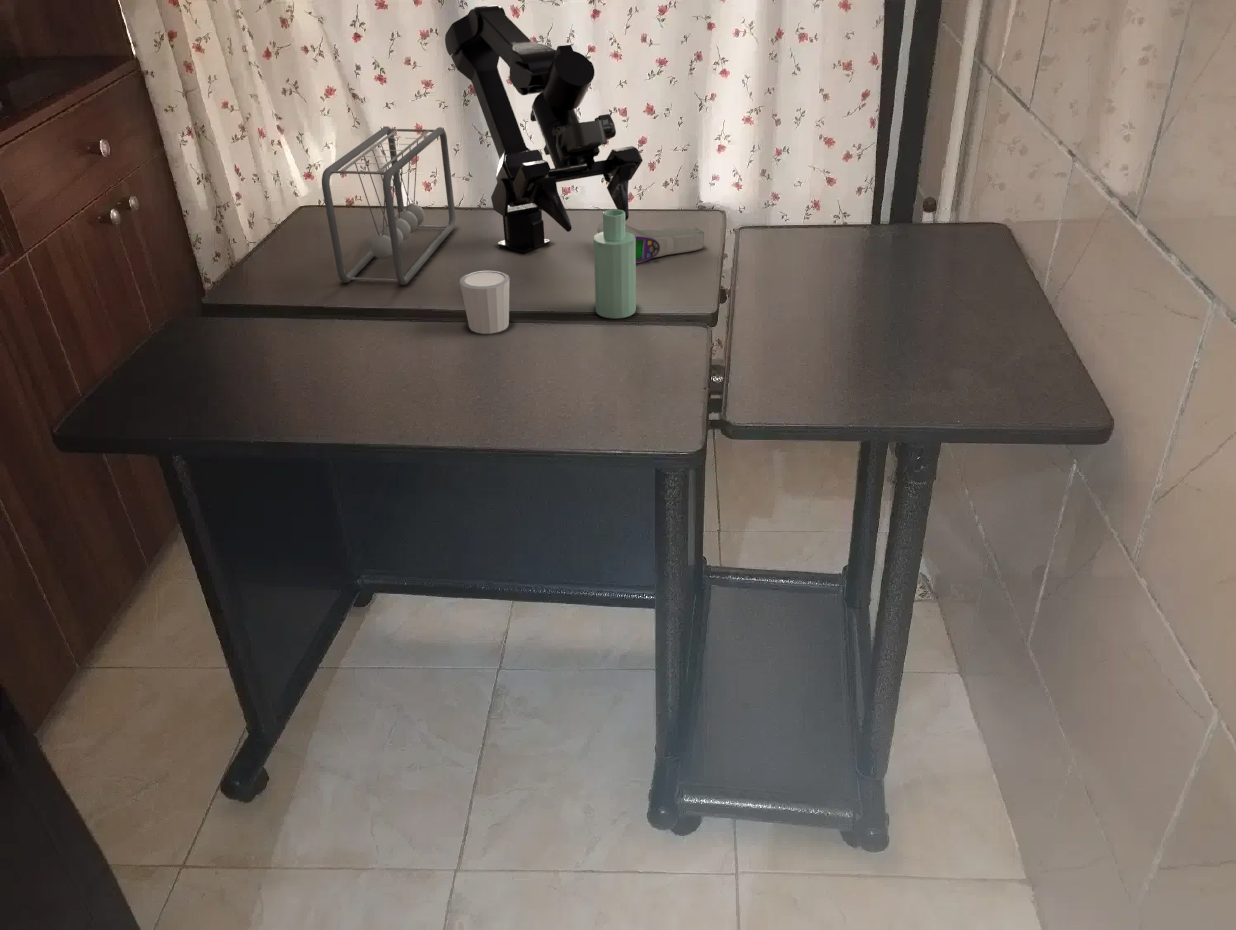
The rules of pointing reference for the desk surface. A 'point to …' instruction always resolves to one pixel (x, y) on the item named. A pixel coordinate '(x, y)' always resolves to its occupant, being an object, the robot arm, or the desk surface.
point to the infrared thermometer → (663, 241)
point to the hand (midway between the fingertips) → (598, 224)
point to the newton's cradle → (390, 203)
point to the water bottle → (615, 267)
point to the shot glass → (486, 301)
